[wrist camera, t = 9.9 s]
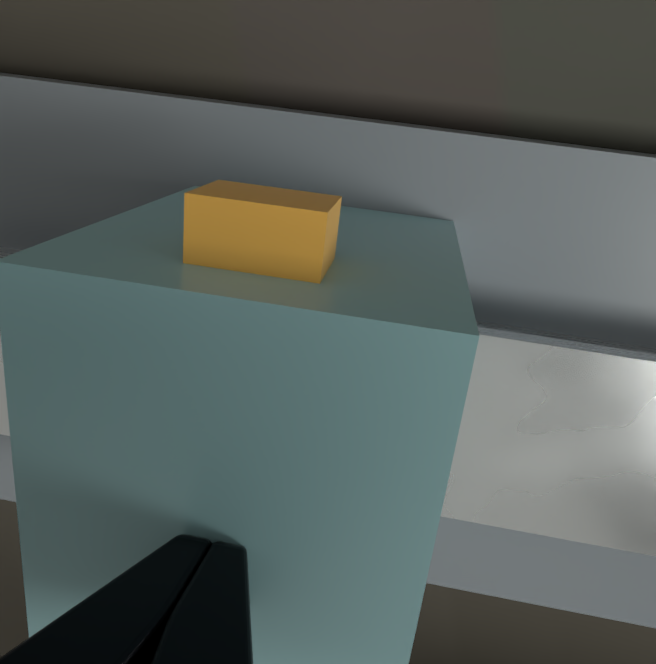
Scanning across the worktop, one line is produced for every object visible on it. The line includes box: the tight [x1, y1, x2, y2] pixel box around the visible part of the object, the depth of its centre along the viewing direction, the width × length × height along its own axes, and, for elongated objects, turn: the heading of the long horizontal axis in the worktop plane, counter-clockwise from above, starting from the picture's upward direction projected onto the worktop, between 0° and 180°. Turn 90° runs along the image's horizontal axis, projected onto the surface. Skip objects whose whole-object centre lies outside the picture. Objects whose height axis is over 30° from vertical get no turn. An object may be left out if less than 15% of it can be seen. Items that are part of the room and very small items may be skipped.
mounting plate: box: [0, 73, 656, 628], centre depth 13 cm, size 20×10×2 cm, turn 84°
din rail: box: [0, 247, 656, 556], centre depth 12 cm, size 19×4×2 cm, turn 84°
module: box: [0, 180, 479, 664], centre depth 10 cm, size 5×8×6 cm, turn 174°
